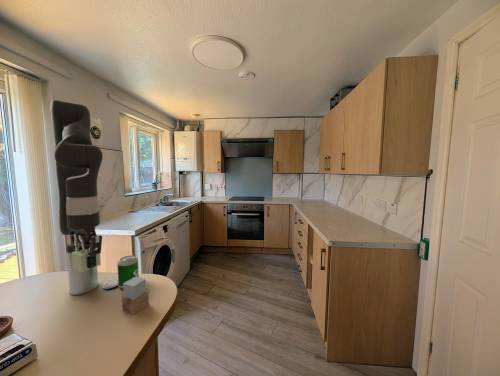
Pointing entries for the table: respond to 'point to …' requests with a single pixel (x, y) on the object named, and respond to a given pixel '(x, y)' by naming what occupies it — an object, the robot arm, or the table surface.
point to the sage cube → (82, 260)
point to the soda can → (127, 269)
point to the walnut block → (135, 303)
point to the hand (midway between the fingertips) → (87, 264)
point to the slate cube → (134, 288)
